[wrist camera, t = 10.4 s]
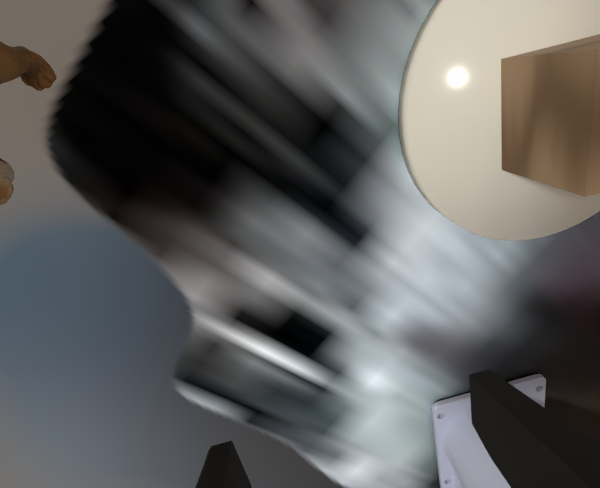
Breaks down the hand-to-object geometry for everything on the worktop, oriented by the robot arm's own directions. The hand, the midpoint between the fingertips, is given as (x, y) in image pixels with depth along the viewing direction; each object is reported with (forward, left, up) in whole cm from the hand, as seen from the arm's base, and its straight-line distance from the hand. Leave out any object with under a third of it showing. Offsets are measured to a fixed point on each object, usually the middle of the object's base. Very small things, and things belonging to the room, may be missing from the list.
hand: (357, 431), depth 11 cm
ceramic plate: (+6, -13, -10) cm, 18 cm away
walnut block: (+6, -13, -9) cm, 17 cm away
